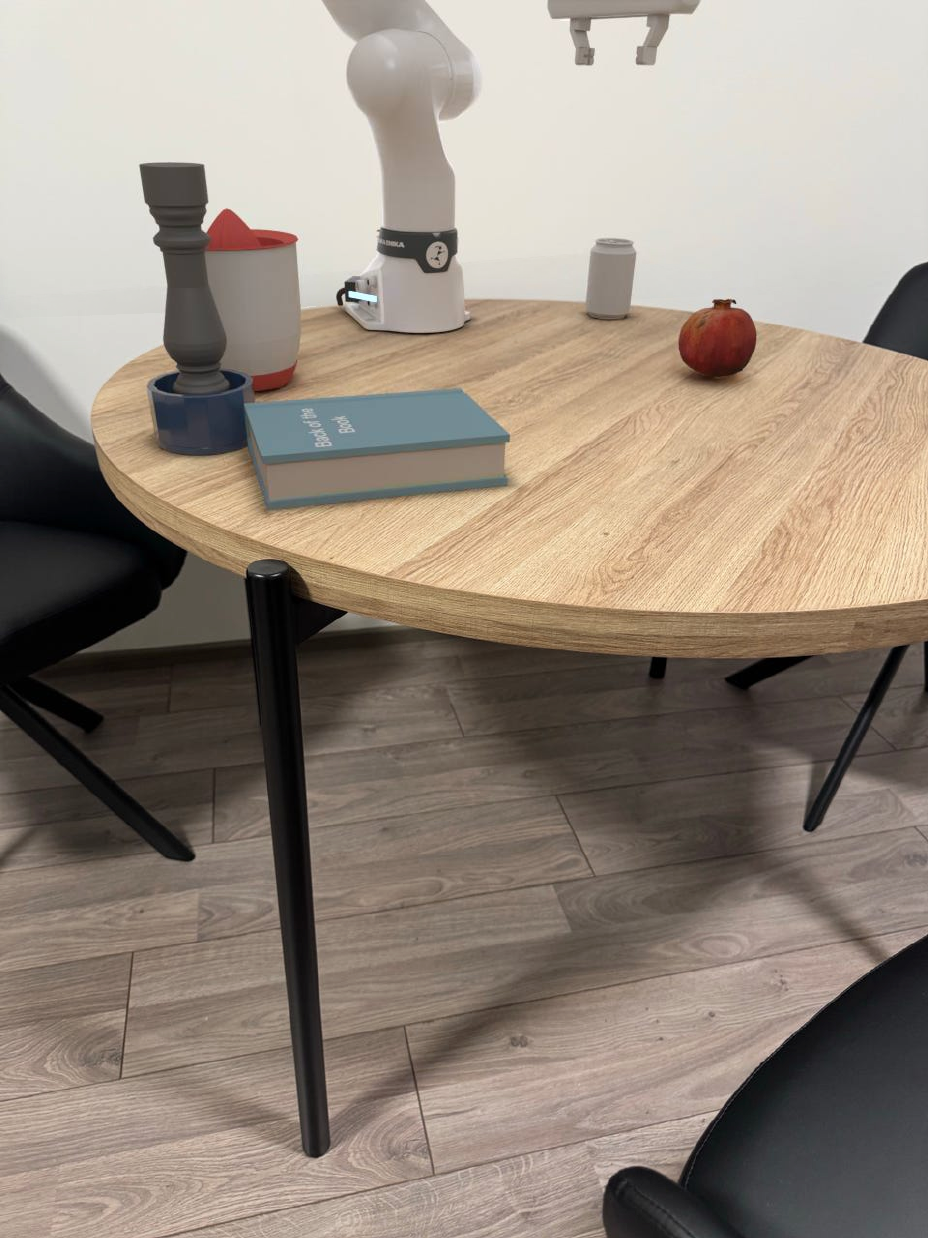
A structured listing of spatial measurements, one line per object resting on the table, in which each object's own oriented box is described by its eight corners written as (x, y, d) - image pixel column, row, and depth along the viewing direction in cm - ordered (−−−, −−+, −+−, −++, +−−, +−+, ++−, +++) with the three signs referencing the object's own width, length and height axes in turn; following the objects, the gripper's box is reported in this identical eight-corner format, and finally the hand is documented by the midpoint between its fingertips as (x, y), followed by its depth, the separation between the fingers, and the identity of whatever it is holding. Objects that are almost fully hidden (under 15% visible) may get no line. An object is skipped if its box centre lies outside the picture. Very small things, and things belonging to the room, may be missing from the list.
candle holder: (174, 424, 94) (134, 161, 81) (233, 418, 96) (203, 161, 83) (179, 443, 89) (138, 167, 76) (241, 437, 91) (211, 167, 78)
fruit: (718, 392, 111) (732, 310, 106) (657, 374, 118) (668, 296, 113) (767, 378, 117) (782, 300, 112) (706, 362, 124) (718, 288, 119)
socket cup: (145, 430, 94) (136, 375, 91) (239, 416, 99) (233, 363, 96) (171, 461, 87) (162, 402, 84) (272, 445, 91) (266, 388, 88)
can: (628, 321, 145) (637, 243, 139) (582, 318, 146) (589, 241, 140) (629, 312, 151) (638, 237, 145) (586, 309, 153) (593, 235, 146)
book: (267, 510, 77) (261, 456, 75) (248, 448, 90) (242, 400, 88) (507, 485, 83) (510, 434, 81) (457, 430, 97) (457, 385, 94)
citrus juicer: (293, 358, 121) (280, 198, 110) (319, 394, 107) (308, 215, 96) (175, 366, 116) (150, 200, 106) (187, 405, 102) (160, 217, 92)
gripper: (539, -80, 99) (532, 64, 107) (684, -103, 86) (664, 63, 93) (578, -73, 103) (568, 66, 110) (722, -94, 90) (701, 65, 97)
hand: (613, 65), depth 102 cm, fingers open, 8 cm apart
